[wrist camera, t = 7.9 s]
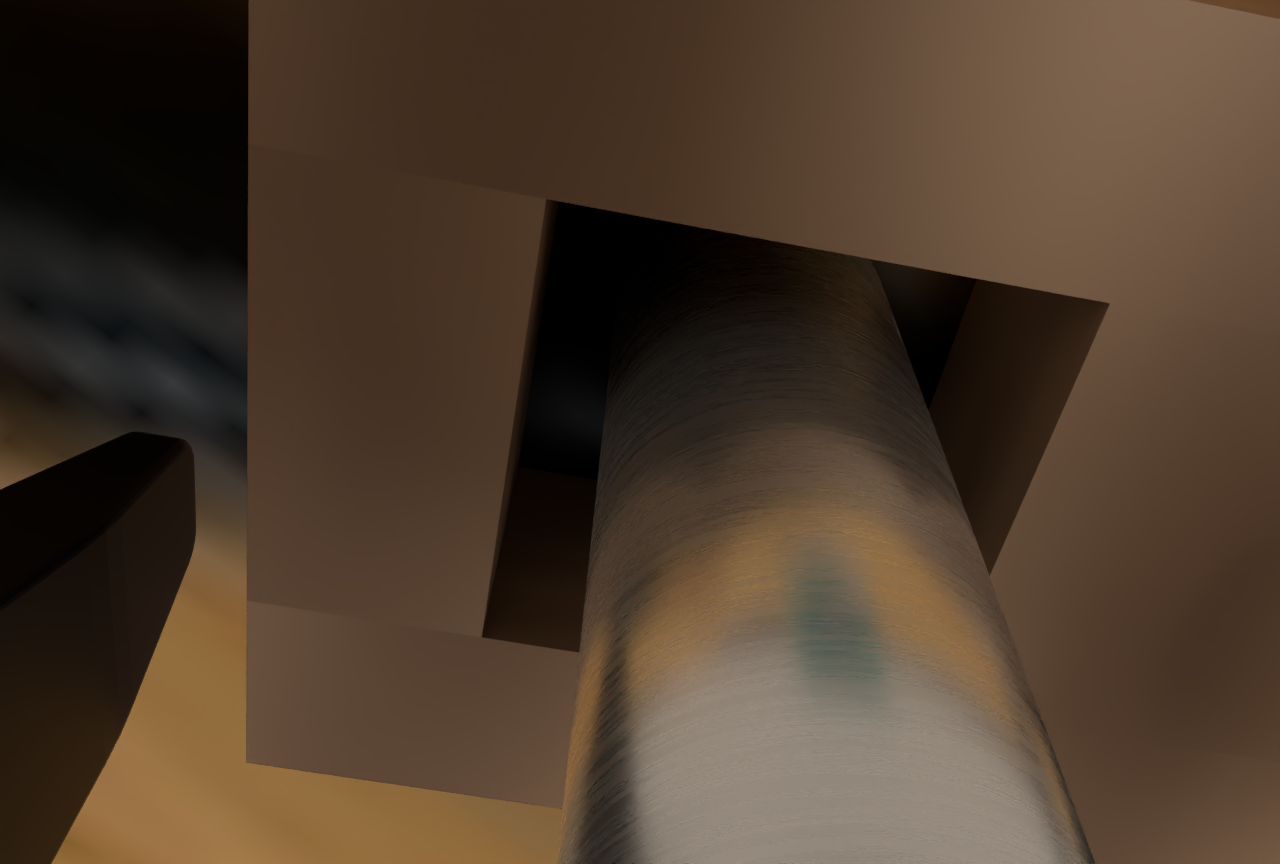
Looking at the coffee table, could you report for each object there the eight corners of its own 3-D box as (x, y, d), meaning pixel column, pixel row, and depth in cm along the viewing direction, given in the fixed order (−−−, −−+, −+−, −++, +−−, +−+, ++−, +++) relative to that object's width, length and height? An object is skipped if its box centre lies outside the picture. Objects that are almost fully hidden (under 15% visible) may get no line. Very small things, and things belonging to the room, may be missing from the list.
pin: (844, 465, 13) (1098, 1571, 5) (594, 422, 13) (463, 1507, 5) (923, 229, 12) (1444, 1284, 4) (640, 176, 12) (558, 1175, 4)
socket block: (2196, 169, 11) (2643, 301, 9) (1620, 787, 16) (1801, 991, 13) (359, -215, 10) (248, -194, 7) (322, 581, 15) (245, 762, 12)
